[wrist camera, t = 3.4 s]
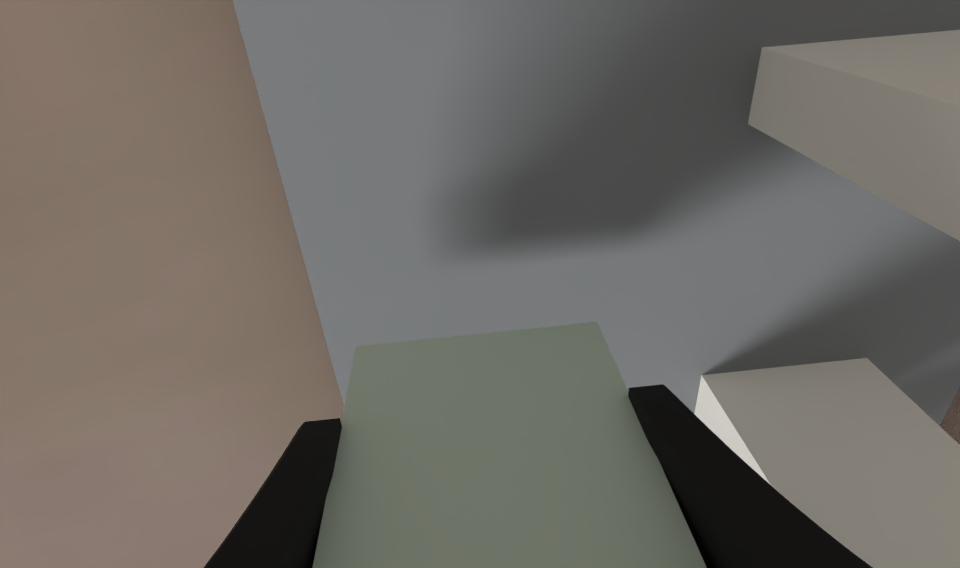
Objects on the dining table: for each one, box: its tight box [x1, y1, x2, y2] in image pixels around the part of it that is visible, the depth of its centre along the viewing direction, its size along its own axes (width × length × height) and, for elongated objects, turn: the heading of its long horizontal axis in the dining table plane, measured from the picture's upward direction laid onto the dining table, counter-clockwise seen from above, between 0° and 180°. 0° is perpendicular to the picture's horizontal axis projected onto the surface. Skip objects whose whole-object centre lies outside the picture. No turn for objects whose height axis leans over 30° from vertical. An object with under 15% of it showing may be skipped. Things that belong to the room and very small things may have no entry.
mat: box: [233, 0, 960, 426], centre depth 16 cm, size 26×19×1 cm
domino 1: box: [312, 322, 707, 568], centre depth 9 cm, size 2×5×7 cm, turn 94°
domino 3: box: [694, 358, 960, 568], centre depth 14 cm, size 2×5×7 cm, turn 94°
